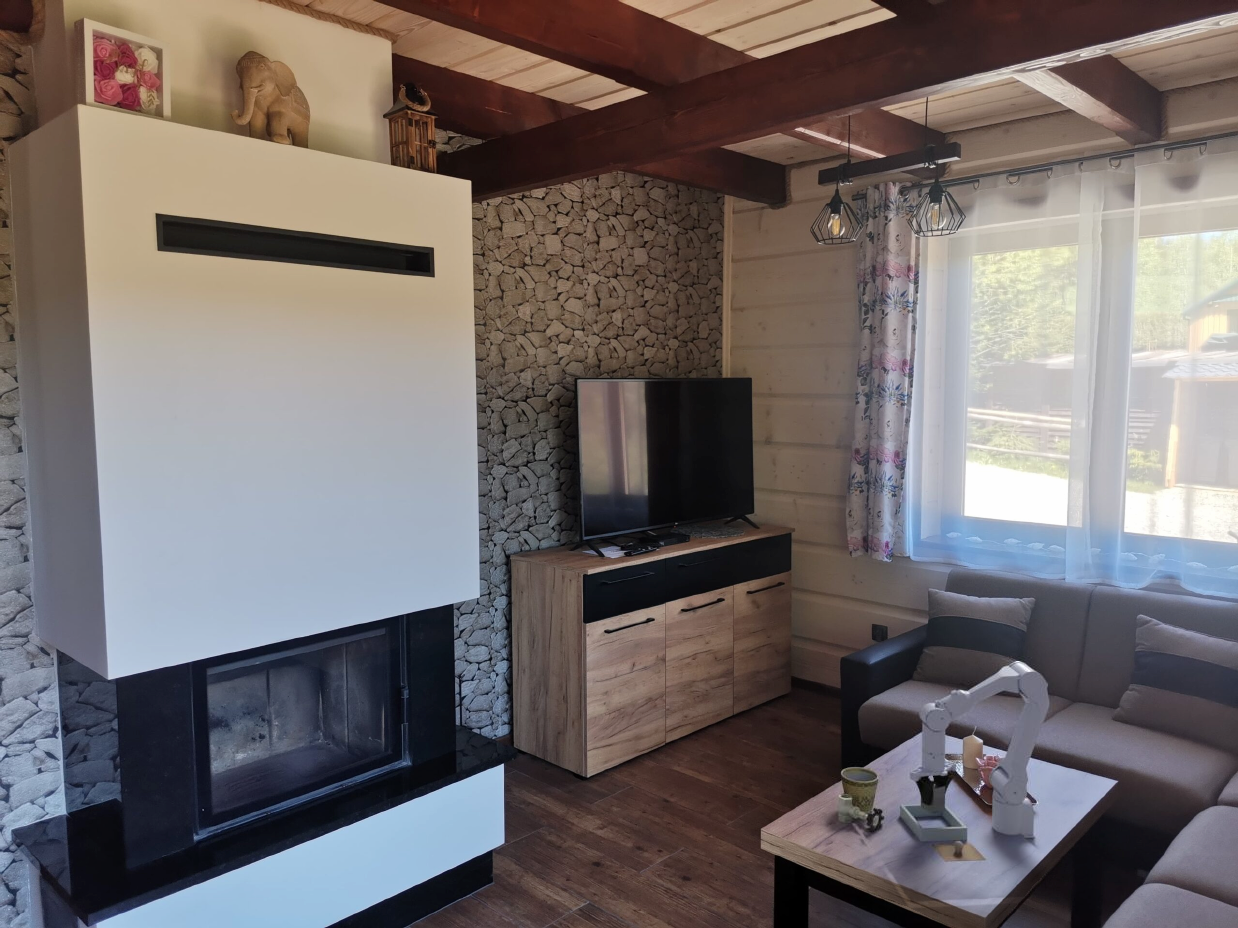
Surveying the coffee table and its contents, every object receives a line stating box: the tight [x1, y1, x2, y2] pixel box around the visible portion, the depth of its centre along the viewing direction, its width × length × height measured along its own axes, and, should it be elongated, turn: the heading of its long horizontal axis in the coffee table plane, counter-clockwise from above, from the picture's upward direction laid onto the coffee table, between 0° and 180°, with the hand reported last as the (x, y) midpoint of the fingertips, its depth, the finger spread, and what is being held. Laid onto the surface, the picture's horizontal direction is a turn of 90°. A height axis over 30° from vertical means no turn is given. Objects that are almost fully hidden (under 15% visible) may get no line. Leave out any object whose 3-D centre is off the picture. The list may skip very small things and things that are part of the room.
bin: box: [899, 803, 968, 842], centre depth 228 cm, size 12×14×4 cm
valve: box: [836, 793, 885, 833], centre depth 231 cm, size 7×7×12 cm
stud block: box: [932, 840, 987, 862], centre depth 215 cm, size 10×8×4 cm
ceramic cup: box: [840, 766, 879, 815], centre depth 241 cm, size 13×10×10 cm
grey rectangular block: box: [920, 779, 946, 814], centre depth 227 cm, size 4×4×6 cm
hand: (932, 801), depth 227 cm, fingers closed on grey rectangular block, 4 cm apart
